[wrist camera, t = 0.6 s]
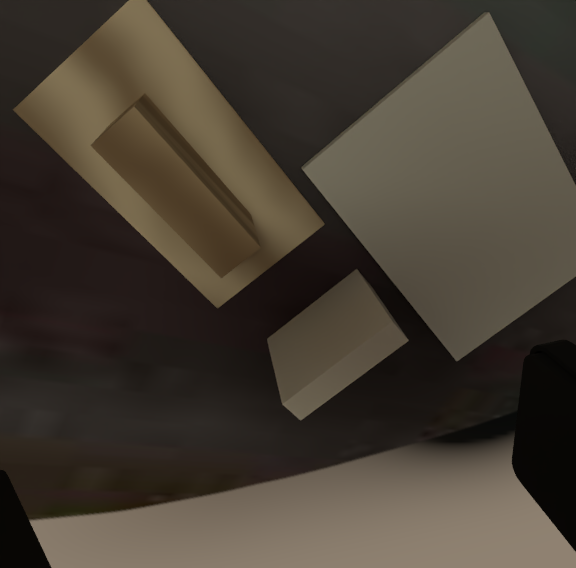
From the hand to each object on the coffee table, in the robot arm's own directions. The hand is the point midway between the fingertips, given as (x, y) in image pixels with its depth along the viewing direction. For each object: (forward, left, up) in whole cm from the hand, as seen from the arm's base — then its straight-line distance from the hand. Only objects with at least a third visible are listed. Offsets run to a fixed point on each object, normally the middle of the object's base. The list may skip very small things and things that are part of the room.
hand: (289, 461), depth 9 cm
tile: (+3, +15, -28) cm, 31 cm away
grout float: (+3, 0, -28) cm, 28 cm away
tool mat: (-11, +16, -27) cm, 33 cm away
